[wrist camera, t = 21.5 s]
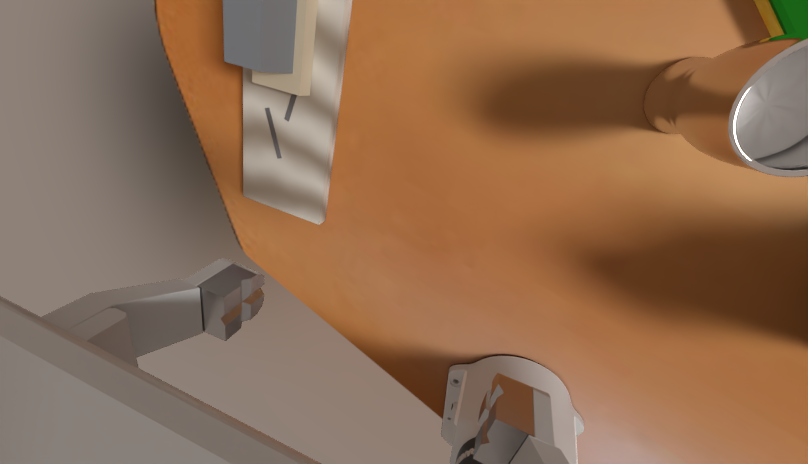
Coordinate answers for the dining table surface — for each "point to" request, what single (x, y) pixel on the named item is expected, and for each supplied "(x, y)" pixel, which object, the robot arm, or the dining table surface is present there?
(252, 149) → the marked board
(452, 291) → the dining table surface
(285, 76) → the block
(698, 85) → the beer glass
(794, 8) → the dish sponge
